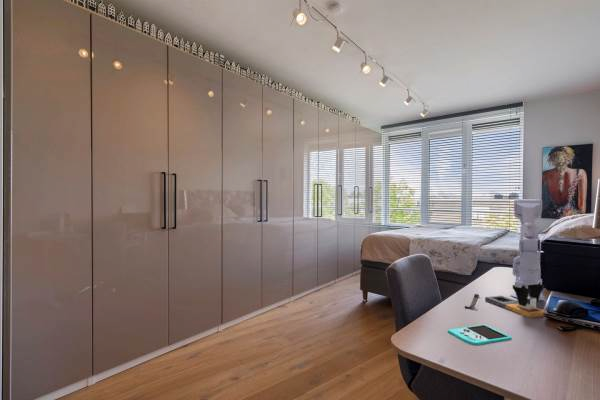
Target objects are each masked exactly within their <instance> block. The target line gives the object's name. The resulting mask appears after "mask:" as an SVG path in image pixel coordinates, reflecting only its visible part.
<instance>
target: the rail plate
mask: <svg viewBox="0 0 600 400" xmlns="http://www.w3.org/2000/svg"><path fill="white" fill-rule="evenodd" d="M484 301H485V302H488V303H490V304H493V305H496V306H498V307H500V308H503V309H506V310H508V311H512V312H514V313H517V314H519V315H521V316H524V317H527V318H530V319H531V318H537V317H544V316H543V313H544V312H545V311H546V310H545V309H542V308H539V307H536V311H534V312H528V311H526V310H523V309H520V308H519V302H518V300H515V299H512V298H509V297H506V296H505V295H494V296H493V295H492V296H485V297H484Z"/></svg>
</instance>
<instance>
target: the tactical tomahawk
mask: <svg viewBox="0 0 600 400" xmlns="http://www.w3.org/2000/svg"><path fill="white" fill-rule="evenodd" d="M479 297H480V295H479V294H478V293H475V294H474V295H473V298H472V301H471V303H470V305H469V306H467V305H465V306H464V309H469V310H470V311H476V312H478V310H479V309H476V307H475V306H476V303H477V301H478V299H479Z"/></svg>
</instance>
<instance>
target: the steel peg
mask: <svg viewBox="0 0 600 400" xmlns="http://www.w3.org/2000/svg"><path fill="white" fill-rule="evenodd" d="M519 308H520V309H523V310H526V311H528V312H534V311H536V308H537V303H536V298H534V297H531V296H528V298H527V304H526V306H522V305H519Z"/></svg>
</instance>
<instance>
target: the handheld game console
mask: <svg viewBox="0 0 600 400" xmlns="http://www.w3.org/2000/svg"><path fill="white" fill-rule="evenodd" d="M447 333H449V334H450V335H452V336H454V337H456V338H458V339H460V340H461V341H463V342H465V343H467V344H471V345H475V346H481V345H485V344H492V343H498V342H504V341H511V340H512V339H513V338H512V336H511V335H509V334H506V333H504V332H502V331H501V330H498V329H496V328H493V327H491V326H489V325H487V324H480V325H479V324H478V325H471V326H465V327H464V326H463V327H457V328H450V329H447Z"/></svg>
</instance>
